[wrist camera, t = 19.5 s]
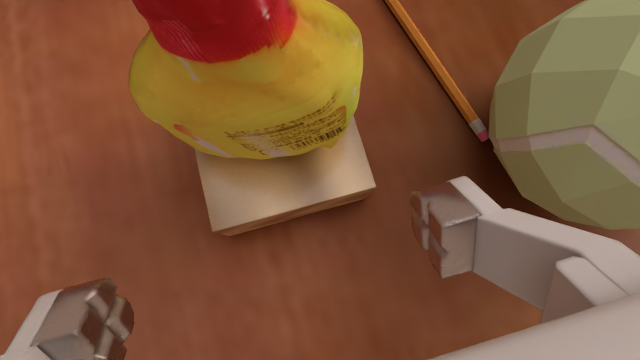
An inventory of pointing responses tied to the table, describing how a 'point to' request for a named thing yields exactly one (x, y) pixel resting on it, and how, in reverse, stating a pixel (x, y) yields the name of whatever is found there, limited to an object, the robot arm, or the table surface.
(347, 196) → the birch block
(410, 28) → the pencil
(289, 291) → the table surface
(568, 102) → the decorative sphere
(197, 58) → the bottle
